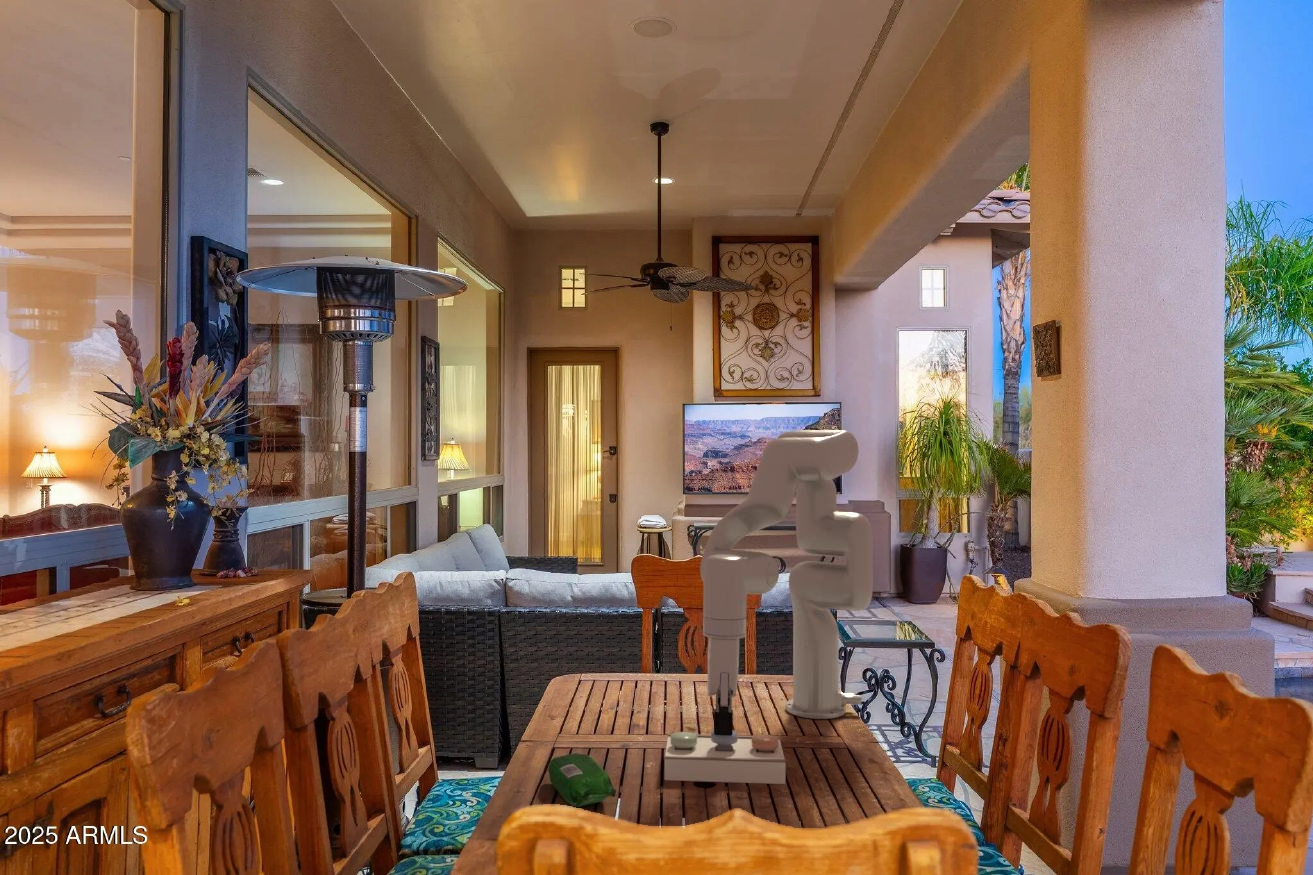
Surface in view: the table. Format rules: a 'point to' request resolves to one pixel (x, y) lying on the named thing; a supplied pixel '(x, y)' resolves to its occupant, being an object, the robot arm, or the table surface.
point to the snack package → (580, 779)
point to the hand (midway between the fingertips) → (723, 733)
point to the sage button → (683, 740)
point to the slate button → (724, 741)
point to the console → (725, 762)
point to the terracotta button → (764, 743)
